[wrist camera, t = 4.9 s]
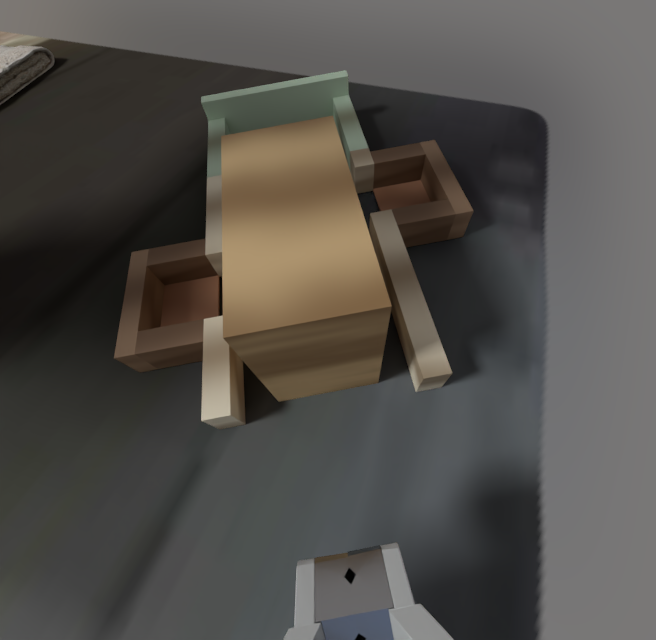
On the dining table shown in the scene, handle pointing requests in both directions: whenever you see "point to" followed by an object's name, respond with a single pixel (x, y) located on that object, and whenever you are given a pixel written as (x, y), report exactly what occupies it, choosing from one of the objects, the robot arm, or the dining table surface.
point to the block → (299, 262)
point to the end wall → (277, 102)
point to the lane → (206, 267)
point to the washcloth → (21, 67)
